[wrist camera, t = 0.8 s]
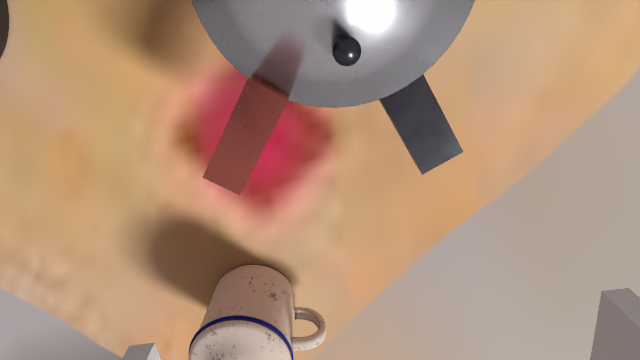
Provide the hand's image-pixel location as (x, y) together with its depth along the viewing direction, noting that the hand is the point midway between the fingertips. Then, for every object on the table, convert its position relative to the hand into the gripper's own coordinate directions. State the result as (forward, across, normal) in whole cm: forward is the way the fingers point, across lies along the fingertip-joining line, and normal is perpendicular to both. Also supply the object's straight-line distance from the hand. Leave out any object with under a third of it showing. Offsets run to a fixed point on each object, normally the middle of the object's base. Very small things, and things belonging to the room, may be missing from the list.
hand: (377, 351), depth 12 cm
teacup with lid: (+26, -9, -18) cm, 33 cm away
